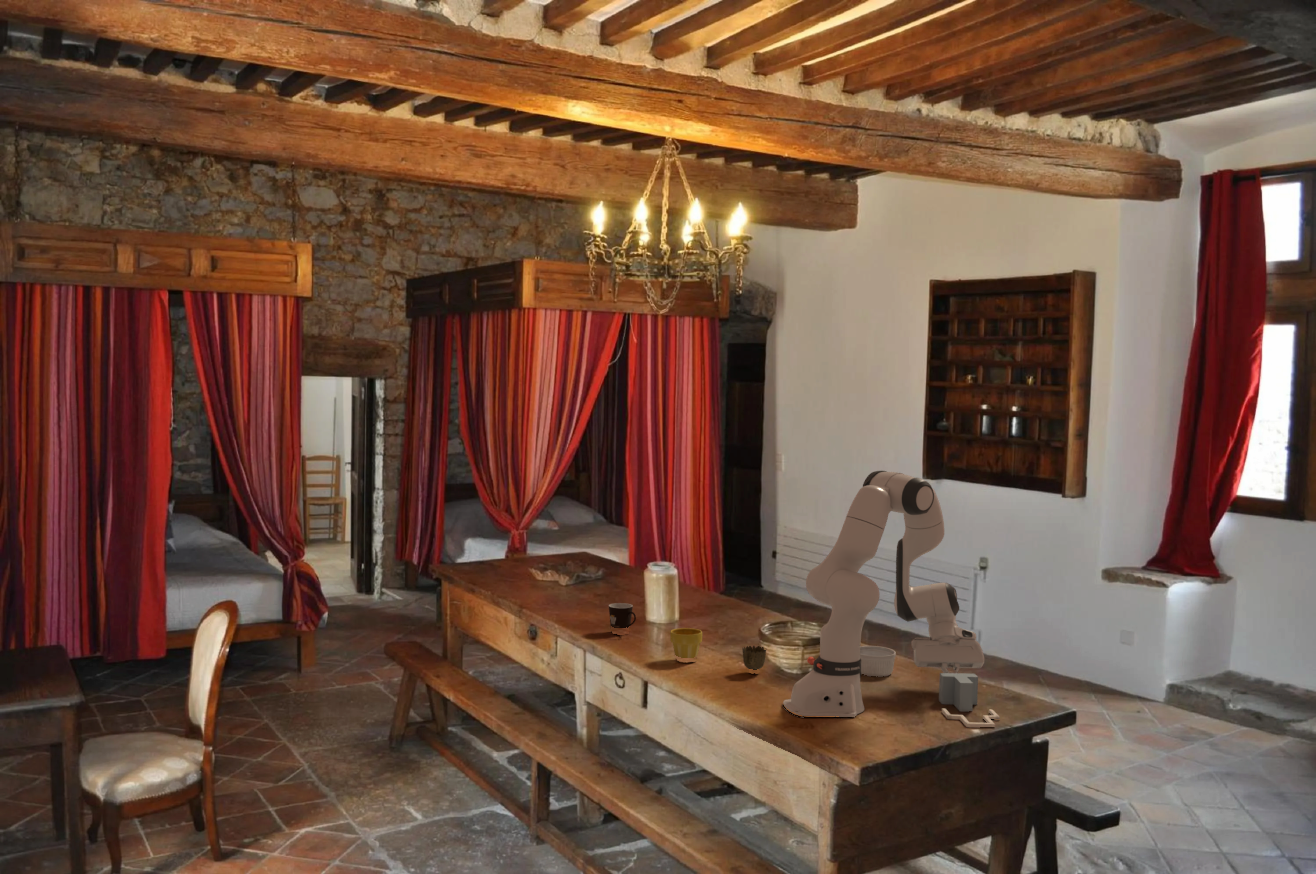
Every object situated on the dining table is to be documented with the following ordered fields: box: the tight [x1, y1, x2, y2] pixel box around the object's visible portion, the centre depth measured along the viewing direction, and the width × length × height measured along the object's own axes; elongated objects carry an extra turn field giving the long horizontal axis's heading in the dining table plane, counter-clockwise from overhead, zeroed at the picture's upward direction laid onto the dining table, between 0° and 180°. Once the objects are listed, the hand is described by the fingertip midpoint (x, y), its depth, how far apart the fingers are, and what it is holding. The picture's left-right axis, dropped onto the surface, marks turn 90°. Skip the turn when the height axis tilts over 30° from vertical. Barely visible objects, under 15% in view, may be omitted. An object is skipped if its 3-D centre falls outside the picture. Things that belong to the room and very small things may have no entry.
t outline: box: [941, 708, 1001, 728], centre depth 292 cm, size 14×13×1 cm
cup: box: [742, 645, 767, 670], centre depth 334 cm, size 8×7×8 cm
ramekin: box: [860, 645, 897, 678], centre depth 338 cm, size 13×13×7 cm
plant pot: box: [669, 627, 703, 658], centre depth 347 cm, size 10×10×10 cm
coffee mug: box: [608, 602, 637, 628], centre depth 382 cm, size 12×9×10 cm
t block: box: [938, 672, 979, 712], centre depth 304 cm, size 10×10×8 cm
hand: (952, 679), depth 313 cm, fingers closed
